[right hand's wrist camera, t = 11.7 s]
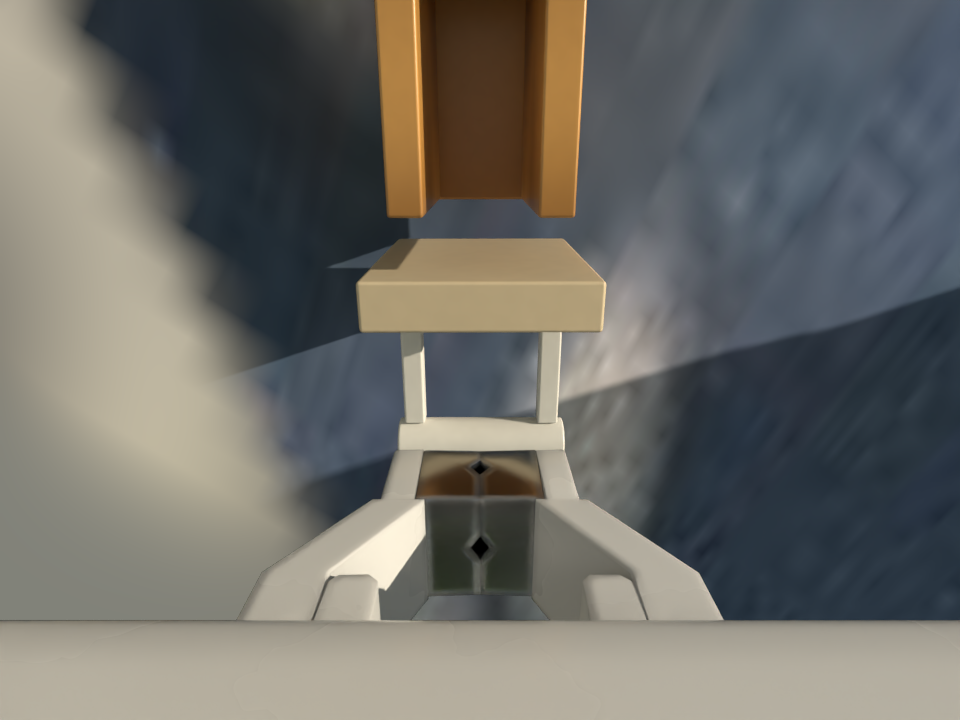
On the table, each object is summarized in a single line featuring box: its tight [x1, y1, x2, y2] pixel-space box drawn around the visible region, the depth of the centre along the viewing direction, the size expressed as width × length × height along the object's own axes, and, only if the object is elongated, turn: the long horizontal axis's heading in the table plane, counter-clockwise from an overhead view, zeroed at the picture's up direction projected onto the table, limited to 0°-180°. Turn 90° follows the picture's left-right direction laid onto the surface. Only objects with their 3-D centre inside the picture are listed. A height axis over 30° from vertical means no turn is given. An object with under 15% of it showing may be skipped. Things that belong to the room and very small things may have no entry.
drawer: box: [356, 0, 606, 451], centre depth 14 cm, size 24×6×7 cm, turn 0°
